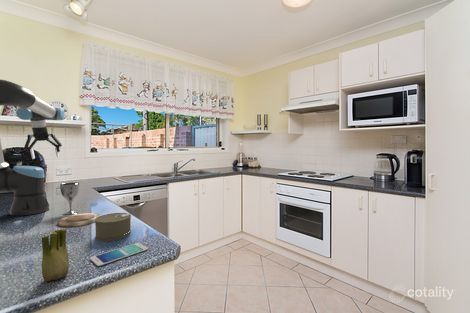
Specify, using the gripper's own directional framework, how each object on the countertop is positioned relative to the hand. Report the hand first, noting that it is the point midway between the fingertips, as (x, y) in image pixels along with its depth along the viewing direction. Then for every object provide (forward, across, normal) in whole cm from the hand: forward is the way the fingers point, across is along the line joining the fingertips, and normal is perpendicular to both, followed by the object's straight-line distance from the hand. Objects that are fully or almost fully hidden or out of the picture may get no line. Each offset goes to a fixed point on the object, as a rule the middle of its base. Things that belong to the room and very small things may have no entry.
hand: (46, 157), depth 158 cm
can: (+8, -50, +102) cm, 113 cm away
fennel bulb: (+2, -40, +128) cm, 134 cm away
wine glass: (+15, -26, +62) cm, 69 cm away
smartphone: (+5, -53, +120) cm, 131 cm away
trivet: (+12, -34, +78) cm, 85 cm away
